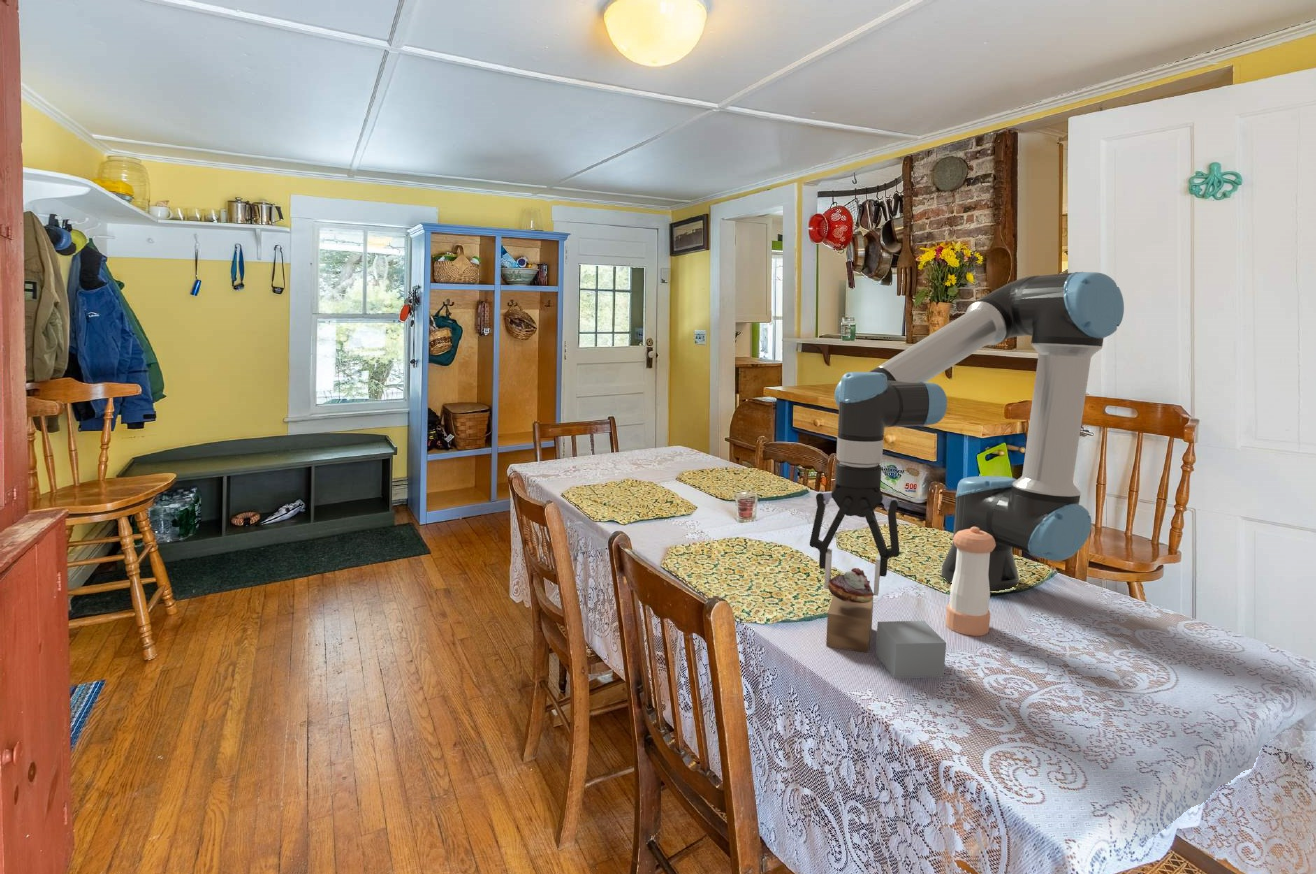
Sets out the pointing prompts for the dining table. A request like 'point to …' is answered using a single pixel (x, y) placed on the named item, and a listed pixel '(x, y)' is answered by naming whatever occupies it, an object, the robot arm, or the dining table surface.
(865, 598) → the pastry
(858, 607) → the walnut block
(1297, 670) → the dining table surface
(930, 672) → the slate block
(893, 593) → the dining table surface
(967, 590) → the pepper shaker
